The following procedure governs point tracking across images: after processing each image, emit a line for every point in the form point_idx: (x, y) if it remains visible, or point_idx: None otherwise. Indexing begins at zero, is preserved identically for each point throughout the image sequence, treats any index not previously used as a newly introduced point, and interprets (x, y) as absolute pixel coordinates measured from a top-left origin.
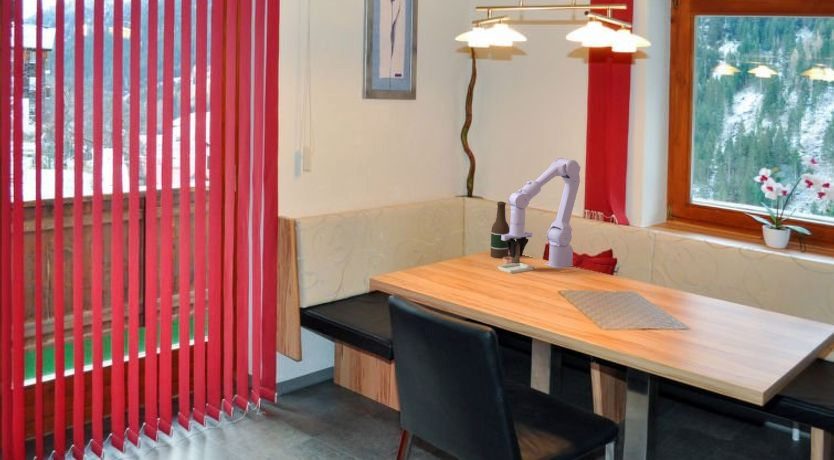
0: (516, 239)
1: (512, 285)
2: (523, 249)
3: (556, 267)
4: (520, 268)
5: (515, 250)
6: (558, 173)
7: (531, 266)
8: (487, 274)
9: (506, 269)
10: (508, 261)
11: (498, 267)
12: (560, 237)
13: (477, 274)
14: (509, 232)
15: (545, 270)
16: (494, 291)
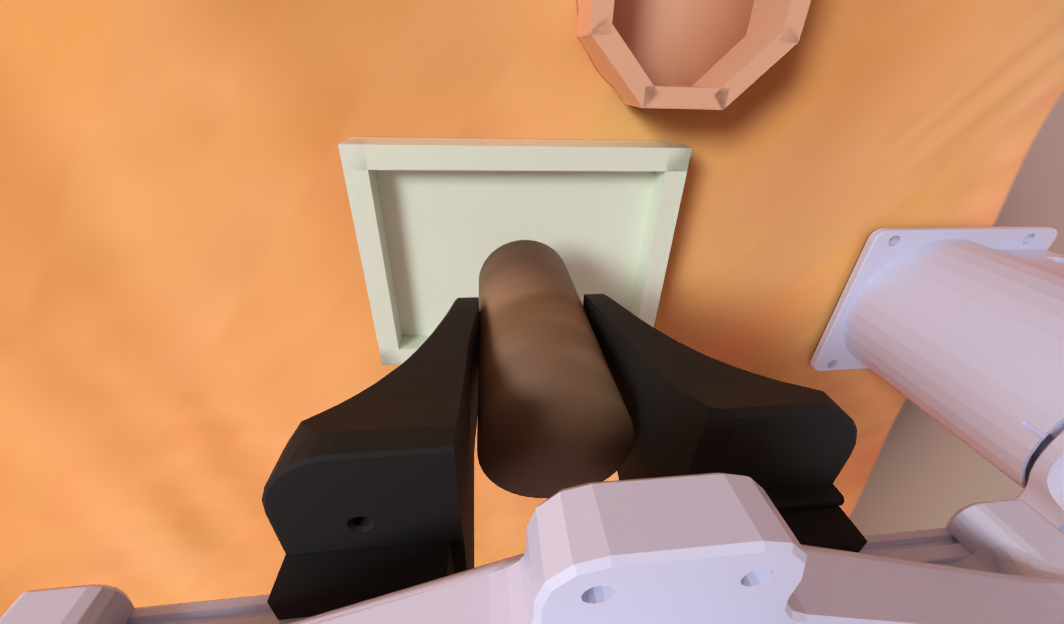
0: (691, 422)
1: (244, 525)
2: None
3: (820, 362)
4: (572, 264)
5: (474, 436)
6: None
7: None
8: (158, 243)
9: (370, 303)
10: (599, 55)
11: (348, 173)
12: None
13: (28, 192)
14: (575, 588)
15: (717, 353)
16: (65, 572)
